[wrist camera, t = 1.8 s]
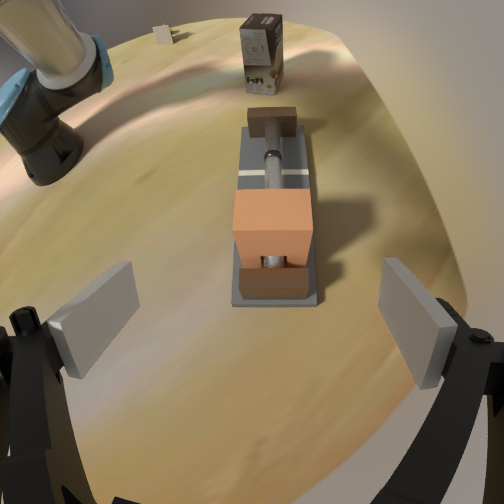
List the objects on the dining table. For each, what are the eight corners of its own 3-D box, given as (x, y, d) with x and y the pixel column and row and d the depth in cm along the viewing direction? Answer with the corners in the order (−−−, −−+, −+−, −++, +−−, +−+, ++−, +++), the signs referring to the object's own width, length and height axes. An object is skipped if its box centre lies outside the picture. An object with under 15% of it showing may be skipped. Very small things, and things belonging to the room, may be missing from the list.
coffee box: (275, 96, 58) (272, 30, 44) (246, 92, 60) (238, 28, 45) (284, 74, 62) (282, 14, 47) (257, 71, 63) (251, 12, 48)
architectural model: (162, 41, 77) (157, 22, 70) (182, 40, 76) (177, 20, 69) (157, 46, 75) (151, 27, 69) (177, 45, 74) (171, 25, 67)
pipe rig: (305, 299, 39) (309, 287, 35) (243, 299, 40) (238, 288, 35) (295, 127, 52) (295, 107, 47) (250, 128, 53) (247, 108, 48)
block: (304, 269, 40) (313, 229, 30) (243, 270, 41) (232, 230, 31) (303, 235, 42) (309, 188, 32) (245, 236, 43) (235, 189, 33)
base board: (315, 306, 40) (317, 303, 39) (232, 306, 41) (231, 303, 40) (302, 131, 53) (303, 125, 52) (242, 132, 54) (241, 126, 53)
